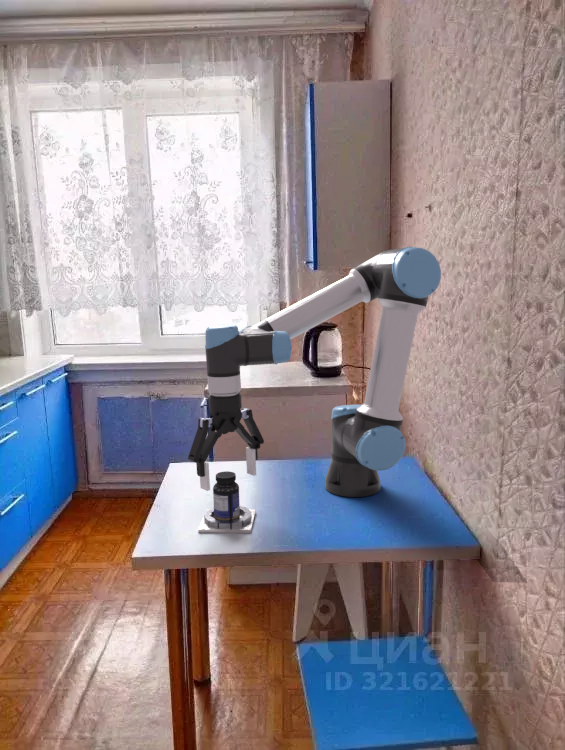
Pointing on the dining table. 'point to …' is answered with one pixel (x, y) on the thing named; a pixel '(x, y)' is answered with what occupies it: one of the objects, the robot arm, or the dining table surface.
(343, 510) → the dining table surface
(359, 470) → the robot arm
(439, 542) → the dining table surface
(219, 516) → the pill bottle
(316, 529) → the dining table surface
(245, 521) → the hub plate
